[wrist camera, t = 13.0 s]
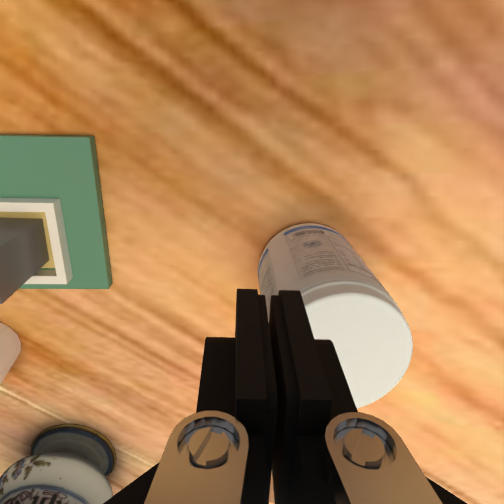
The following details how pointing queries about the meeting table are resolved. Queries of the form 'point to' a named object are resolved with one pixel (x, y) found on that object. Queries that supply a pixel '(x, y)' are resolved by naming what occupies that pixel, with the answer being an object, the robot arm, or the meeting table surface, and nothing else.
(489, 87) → the meeting table surface
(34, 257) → the plug
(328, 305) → the supplement tub
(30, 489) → the apothecary jar
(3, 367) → the white cylinder
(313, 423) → the robot arm
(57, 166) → the board
